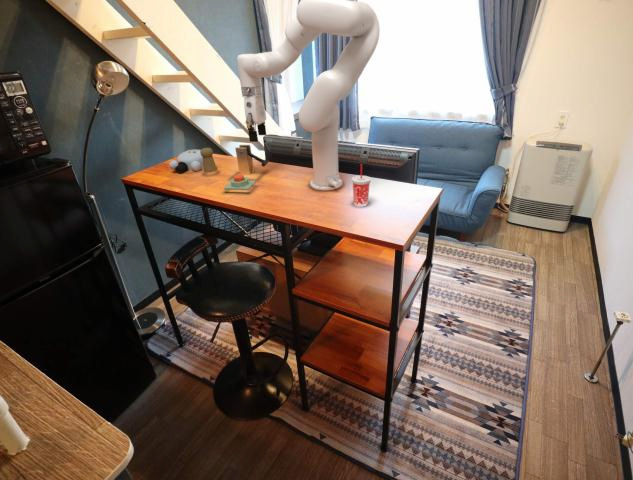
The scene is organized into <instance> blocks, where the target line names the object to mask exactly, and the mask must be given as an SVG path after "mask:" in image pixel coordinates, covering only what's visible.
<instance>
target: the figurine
mask: <svg viewBox="0 0 633 480" xmlns="http://www.w3.org/2000/svg"><path fill="white" fill-rule="evenodd" d="M200 151H201V149H188V150H185V151H183V152H181V153H180V154H179V155H178V156H177V158H176V159H173V160H171V161H170V162H169V163H168V164H169V168H170V169H171V170H172V171H175V173H176V174H179V175H180V174H182V173H183V172H187V171H193V172H199V171H201V170H202V169H204V166H203V157H202V156H201V154H200Z"/></svg>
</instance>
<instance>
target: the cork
mask: <svg viewBox="0 0 633 480" xmlns="http://www.w3.org/2000/svg"><path fill="white" fill-rule="evenodd" d="M200 150H201V151H200V154H201V156H202V157H203V166H204V167H203V172H204V173H214V172H216V171H218V168H217V164H216V162H215V160H214V156H213V155H214V151H213V149H212V148H210V147H204V148H201V149H200Z"/></svg>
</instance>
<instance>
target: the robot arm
mask: <svg viewBox="0 0 633 480" xmlns="http://www.w3.org/2000/svg"><path fill="white" fill-rule="evenodd" d="M322 34H328V35H334V36H339V37H349V41H348V43H347V44H346V45H345V47H344V48H343V50H342V51H341V52H340V55H339V57H338V59H337V61H336V62H335V63H334V65H333V66H332V68H331V69H327V70H325V71H323V72H321V73H320V74H319V75H318V76H317V77H316V78H315V79H314V81H313V82H312V83H311V87H310V88H309V90H308V92H307V94H306V96H305V98H304V99H303V102H302V103H301V106H300V108H299V111H298V123H299V125H300V127H301V128H302V129H303V130H304V131H306V132H309V133H311V156H312V171H313V172H312V173H313V179H311V180H310V181H309V185H310V186H309V187H310V188H312V189H314V190H316V191H334V190H337V189H339V188H341V187H342V186H343V184H344V182H343V179H341V177H340V176H341V175H340V174H339V173H340V172H339V124H340V123H339V122H340V108H339V105H338V102H340V101H343V100H345V99H346V98H347V97H348V96H350V94H351V92H352V91H353V89H354V87H355V85H356V83H357V82H358V81H359V79H360V77H361V75H362V74H363V72H364V70H365V68H366V66H367V65H368V63H369V61H370V60H371V58H372V56H373V54H374V52H375V51H376V49H377V46H378V43H379V38H380V22H379V18H378V15H377V13H376V12H375V10H374V8H373V7H371V6H370V4H368V3H366V2H363V1H358V0H357V1H356V0H300V1H299V3H298V4H297V7H296V16H294V18H293V19H292V20H290V21H289V23H288V24H287V25H286V26H285V28H284V35H285V39H284V40H283V41H282V43H281V44H279V46H277V47H276V48H275V49H274V50H273V51H264V52H259V53H243V54H242V53H240V54H238V55H237V56H236V62H237V69H238V76H239V84H240V90H241V97H242V98H243V107H244V114H245V124H246V129H247V133H248V138H249V142H250V143H257V142H259V138H258V137H259V136H266V135H267V130H266V129H267V128H266V120H267V113H266V107H265V102H264V97H263V86H262V78H268V77H273V76H276V75H280V74H282V73H284V72H285V71H286V70H288V68H289V67H291V66H292V65H293V64H294V63H295V62H296V61H297V60H298V59H299V57H300V56H301V55H302V53H303V52H304V50H305V49H306V48H307V47H308V46H309V45H310V44H312V43H313V42H314V41H315V40H316V39H317V38H319V37H320V36H321V35H322ZM256 129H257V130H256Z"/></svg>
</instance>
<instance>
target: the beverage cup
mask: <svg viewBox="0 0 633 480" xmlns="http://www.w3.org/2000/svg"><path fill="white" fill-rule="evenodd" d="M371 179H372V178H371V177H370V176H367V175H363V163H360V175H355V176H352V178H351V183H352V192H353V193H352V194H353V205H354V206H355V207H357V208H363V207H367V206H368V205H369V194H370V183H371Z"/></svg>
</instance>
